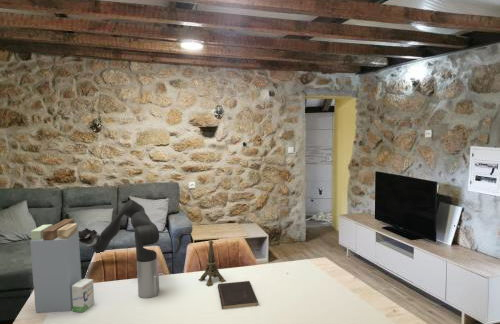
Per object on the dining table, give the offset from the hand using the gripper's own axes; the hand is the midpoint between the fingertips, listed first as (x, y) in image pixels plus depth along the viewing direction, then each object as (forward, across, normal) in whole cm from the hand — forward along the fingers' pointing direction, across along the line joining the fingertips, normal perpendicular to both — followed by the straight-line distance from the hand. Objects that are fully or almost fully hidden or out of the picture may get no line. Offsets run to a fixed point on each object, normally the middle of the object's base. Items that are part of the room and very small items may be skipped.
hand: (76, 230), depth 187 cm
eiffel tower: (-11, +68, +27) cm, 74 cm away
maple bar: (+22, +6, +8) cm, 24 cm away
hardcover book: (+6, +80, +37) cm, 88 cm away
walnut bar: (+18, 0, +6) cm, 19 cm away
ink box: (+9, +12, +38) cm, 41 cm away
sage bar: (+22, -6, +8) cm, 24 cm away
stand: (+6, 0, +36) cm, 36 cm away
